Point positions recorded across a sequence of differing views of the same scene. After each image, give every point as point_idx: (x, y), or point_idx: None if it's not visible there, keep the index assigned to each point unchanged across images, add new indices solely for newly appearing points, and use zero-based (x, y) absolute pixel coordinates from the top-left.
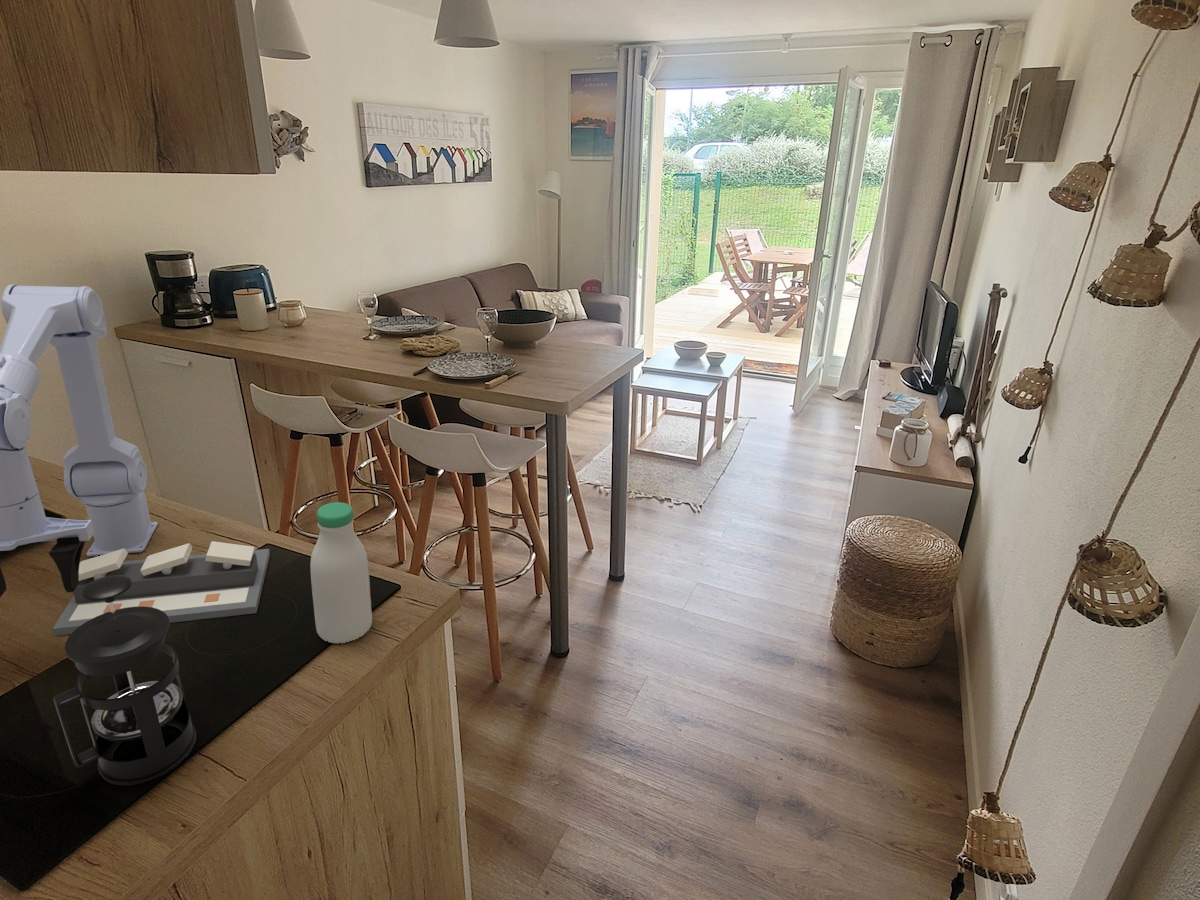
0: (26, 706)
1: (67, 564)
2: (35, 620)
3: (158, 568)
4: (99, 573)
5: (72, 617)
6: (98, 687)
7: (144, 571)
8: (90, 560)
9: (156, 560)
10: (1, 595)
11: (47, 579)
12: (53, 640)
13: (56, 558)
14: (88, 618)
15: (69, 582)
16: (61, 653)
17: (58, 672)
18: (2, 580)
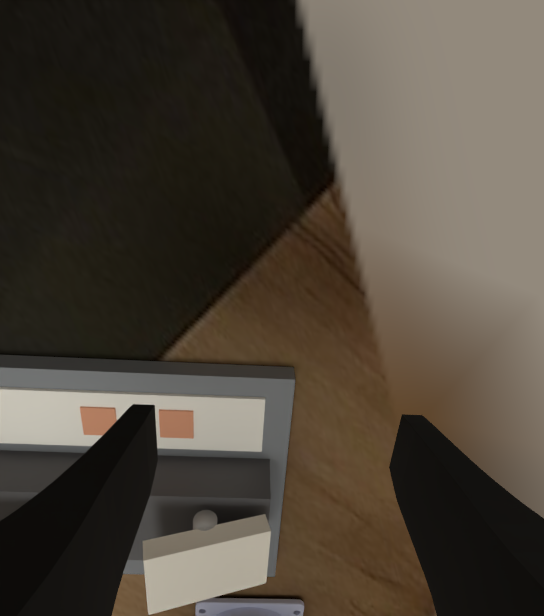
0: (281, 91)
1: (6, 531)
2: (348, 428)
3: None
4: (198, 531)
5: (260, 409)
6: (117, 123)
7: None
8: (239, 582)
9: None
10: (397, 434)
11: (358, 548)
12: (291, 351)
13: (6, 592)
14: (221, 398)
15: (104, 434)
16: (259, 298)
17: (243, 222)
18: (406, 503)
